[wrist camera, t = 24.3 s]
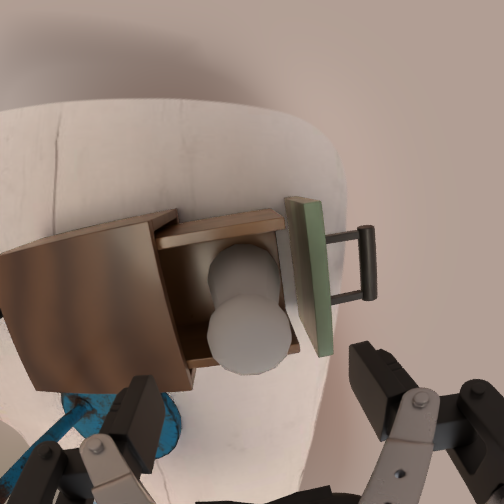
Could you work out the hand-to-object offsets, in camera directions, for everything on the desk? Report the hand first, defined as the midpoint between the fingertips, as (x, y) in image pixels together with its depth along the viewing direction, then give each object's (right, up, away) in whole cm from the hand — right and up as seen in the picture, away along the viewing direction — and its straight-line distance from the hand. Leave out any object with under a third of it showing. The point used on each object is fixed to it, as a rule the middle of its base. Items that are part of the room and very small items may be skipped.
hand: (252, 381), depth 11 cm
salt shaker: (-1, +3, +16) cm, 16 cm away
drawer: (0, +4, +17) cm, 17 cm away
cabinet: (-14, +2, +17) cm, 22 cm away
